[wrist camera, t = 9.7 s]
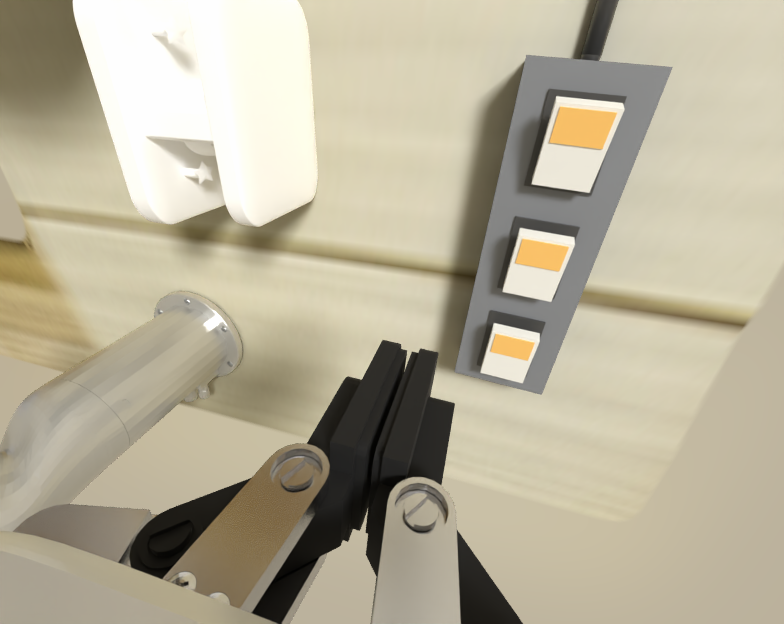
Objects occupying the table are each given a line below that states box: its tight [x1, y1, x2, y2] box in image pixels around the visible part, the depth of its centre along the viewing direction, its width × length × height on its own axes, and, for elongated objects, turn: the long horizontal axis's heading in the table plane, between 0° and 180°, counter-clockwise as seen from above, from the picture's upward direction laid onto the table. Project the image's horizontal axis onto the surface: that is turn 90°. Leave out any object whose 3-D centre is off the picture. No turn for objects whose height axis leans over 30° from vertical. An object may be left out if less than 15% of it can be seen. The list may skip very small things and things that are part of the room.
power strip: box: [455, 0, 672, 395], centre depth 28 cm, size 34×8×5 cm, turn 175°
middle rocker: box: [502, 228, 575, 302], centre depth 27 cm, size 5×4×1 cm
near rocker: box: [532, 96, 625, 193], centre depth 23 cm, size 5×4×1 cm
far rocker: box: [480, 323, 540, 383], centre depth 31 cm, size 5×4×1 cm
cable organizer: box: [73, 0, 318, 227], centre depth 29 cm, size 15×11×12 cm
